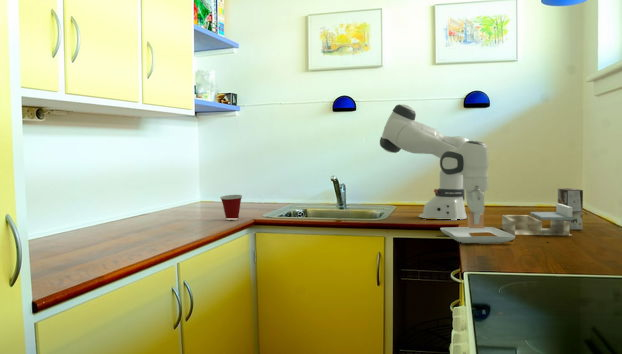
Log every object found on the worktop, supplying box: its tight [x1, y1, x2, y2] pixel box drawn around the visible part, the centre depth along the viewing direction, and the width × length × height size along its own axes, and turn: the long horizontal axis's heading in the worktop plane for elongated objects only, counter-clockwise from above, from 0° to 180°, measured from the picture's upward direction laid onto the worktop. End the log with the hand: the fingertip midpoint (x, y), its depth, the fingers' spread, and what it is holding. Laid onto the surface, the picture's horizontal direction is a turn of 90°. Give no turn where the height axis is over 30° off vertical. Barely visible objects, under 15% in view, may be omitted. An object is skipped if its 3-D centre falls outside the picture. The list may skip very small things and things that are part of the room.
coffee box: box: [557, 188, 584, 230], centre depth 199 cm, size 9×6×16 cm
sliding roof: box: [529, 203, 573, 221], centre depth 185 cm, size 11×14×4 cm
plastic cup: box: [219, 194, 243, 219], centre depth 237 cm, size 11×11×12 cm
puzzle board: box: [501, 214, 572, 236], centre depth 186 cm, size 22×14×6 cm
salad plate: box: [439, 226, 516, 244], centre depth 178 cm, size 21×21×3 cm
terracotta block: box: [467, 212, 485, 228], centre depth 178 cm, size 5×5×5 cm
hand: (475, 222), depth 178 cm, fingers closed on terracotta block, 5 cm apart
